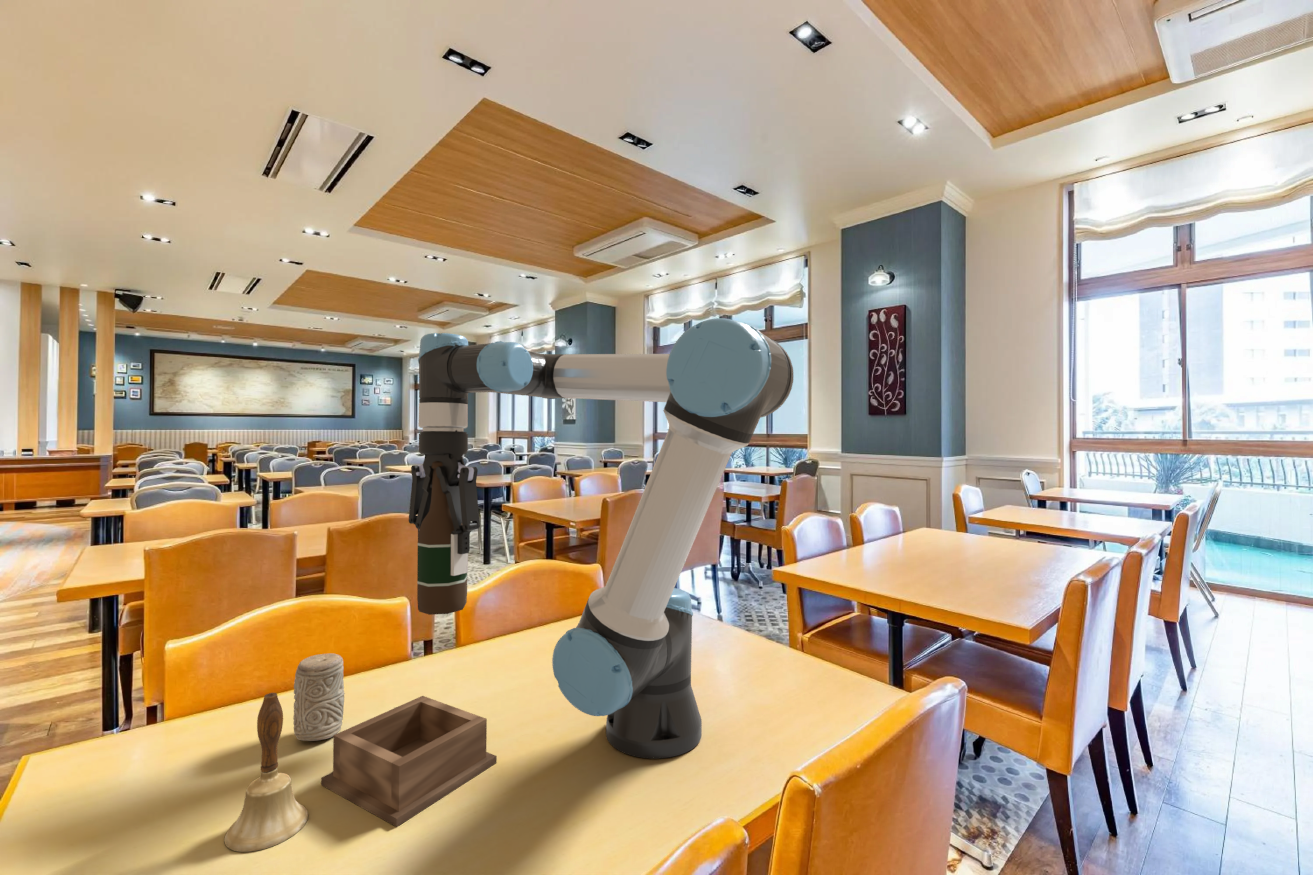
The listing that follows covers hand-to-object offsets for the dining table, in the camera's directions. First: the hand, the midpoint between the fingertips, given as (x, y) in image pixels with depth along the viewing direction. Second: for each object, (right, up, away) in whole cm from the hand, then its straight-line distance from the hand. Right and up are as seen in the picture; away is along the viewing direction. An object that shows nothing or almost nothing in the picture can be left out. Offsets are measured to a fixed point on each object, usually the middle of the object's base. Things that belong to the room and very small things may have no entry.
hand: (442, 570), depth 94 cm
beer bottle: (0, -6, 0) cm, 6 cm away
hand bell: (-12, -25, -25) cm, 37 cm away
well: (+1, -25, -14) cm, 29 cm away
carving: (-18, -25, -4) cm, 31 cm away
